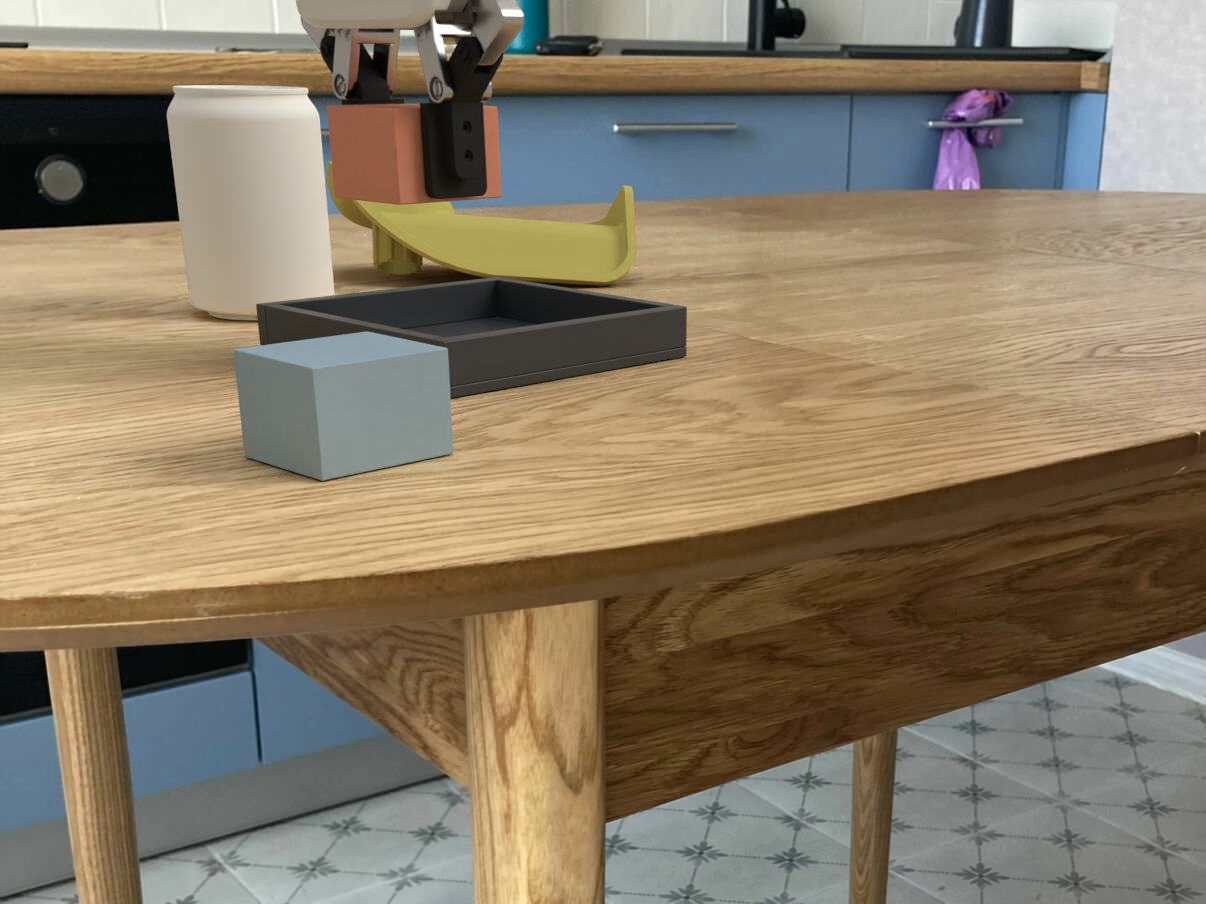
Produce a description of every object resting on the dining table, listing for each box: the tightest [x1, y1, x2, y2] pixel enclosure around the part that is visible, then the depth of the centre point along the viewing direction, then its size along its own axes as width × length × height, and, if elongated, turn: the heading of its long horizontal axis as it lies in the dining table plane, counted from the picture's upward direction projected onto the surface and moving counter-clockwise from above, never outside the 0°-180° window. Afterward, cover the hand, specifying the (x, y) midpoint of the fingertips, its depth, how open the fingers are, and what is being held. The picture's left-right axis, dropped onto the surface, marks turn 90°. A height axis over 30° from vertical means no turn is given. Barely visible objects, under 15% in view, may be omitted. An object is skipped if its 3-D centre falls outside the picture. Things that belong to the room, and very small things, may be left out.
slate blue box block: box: [232, 331, 454, 482], centre depth 58 cm, size 5×6×4 cm
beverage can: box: [166, 84, 336, 321], centre depth 87 cm, size 8×8×12 cm
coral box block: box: [326, 103, 502, 205], centre depth 72 cm, size 5×6×4 cm
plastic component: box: [325, 160, 638, 287], centre depth 104 cm, size 20×7×10 cm
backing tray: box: [256, 277, 688, 399], centre depth 78 cm, size 15×16×2 cm
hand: (417, 188), depth 73 cm, fingers closed on coral box block, 5 cm apart
